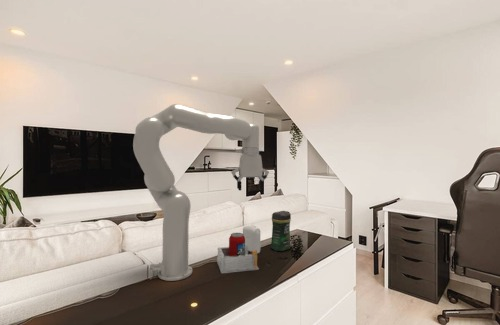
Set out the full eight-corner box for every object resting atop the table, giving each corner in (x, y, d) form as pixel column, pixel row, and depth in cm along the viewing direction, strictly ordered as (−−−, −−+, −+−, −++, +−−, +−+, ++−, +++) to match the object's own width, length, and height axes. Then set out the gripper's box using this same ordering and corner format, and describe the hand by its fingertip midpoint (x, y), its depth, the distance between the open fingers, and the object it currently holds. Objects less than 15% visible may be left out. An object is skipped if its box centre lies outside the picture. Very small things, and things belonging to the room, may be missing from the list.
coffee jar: (281, 253, 121) (282, 213, 121) (268, 249, 127) (268, 211, 127) (293, 248, 128) (293, 211, 128) (280, 244, 134) (280, 208, 134)
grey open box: (221, 273, 99) (221, 255, 99) (216, 259, 112) (216, 243, 112) (258, 269, 103) (258, 251, 102) (249, 256, 116) (249, 241, 116)
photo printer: (241, 248, 127) (241, 223, 127) (248, 246, 130) (248, 222, 130) (254, 254, 119) (255, 227, 119) (261, 252, 122) (261, 226, 122)
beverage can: (243, 266, 103) (243, 237, 103) (226, 265, 105) (227, 236, 105) (246, 260, 110) (246, 232, 110) (231, 259, 111) (231, 231, 111)
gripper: (233, 151, 110) (233, 191, 110) (271, 152, 114) (271, 190, 115) (230, 151, 117) (229, 189, 117) (266, 152, 122) (265, 188, 122)
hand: (250, 189), depth 116 cm, fingers open, 9 cm apart
